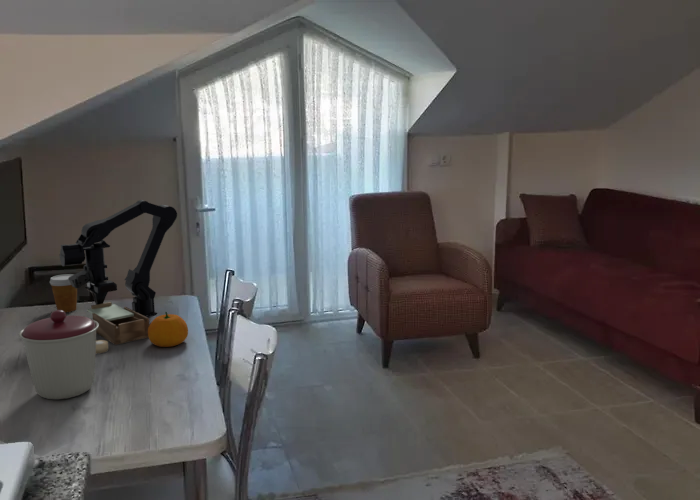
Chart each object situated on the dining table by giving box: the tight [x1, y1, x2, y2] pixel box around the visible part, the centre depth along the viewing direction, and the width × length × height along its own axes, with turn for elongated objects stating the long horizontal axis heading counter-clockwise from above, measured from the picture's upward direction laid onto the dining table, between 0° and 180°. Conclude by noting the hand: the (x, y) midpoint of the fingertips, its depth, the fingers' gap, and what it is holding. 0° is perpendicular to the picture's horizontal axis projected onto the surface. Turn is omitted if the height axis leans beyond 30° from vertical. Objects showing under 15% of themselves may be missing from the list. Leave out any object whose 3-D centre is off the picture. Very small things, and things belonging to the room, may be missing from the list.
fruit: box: [148, 311, 189, 348], centre depth 204 cm, size 12×12×10 cm
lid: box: [86, 301, 134, 321], centre depth 219 cm, size 9×15×2 cm, turn 41°
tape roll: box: [96, 339, 109, 355], centre depth 199 cm, size 5×5×2 cm
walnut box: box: [91, 306, 150, 346], centre depth 213 cm, size 11×17×6 cm, turn 41°
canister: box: [18, 309, 99, 400], centre depth 168 cm, size 18×18×21 cm
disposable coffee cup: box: [49, 273, 78, 313], centre depth 240 cm, size 10×10×12 cm
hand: (99, 308), depth 226 cm, fingers closed
